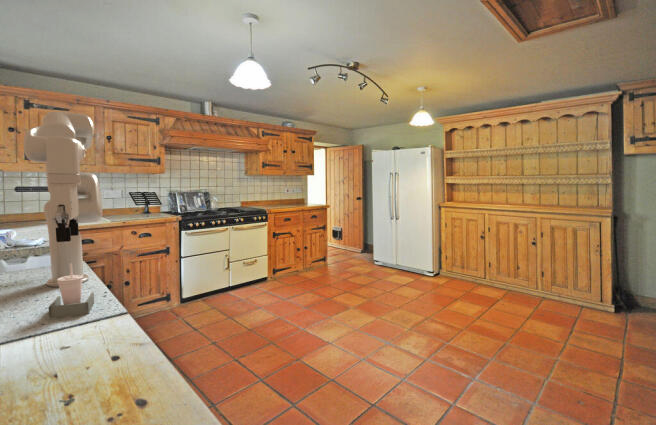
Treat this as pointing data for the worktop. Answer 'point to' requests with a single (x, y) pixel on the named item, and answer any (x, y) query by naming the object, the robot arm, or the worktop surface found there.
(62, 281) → the smoothie
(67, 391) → the worktop surface
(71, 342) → the worktop surface
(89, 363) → the worktop surface
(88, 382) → the worktop surface
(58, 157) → the robot arm
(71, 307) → the bay
